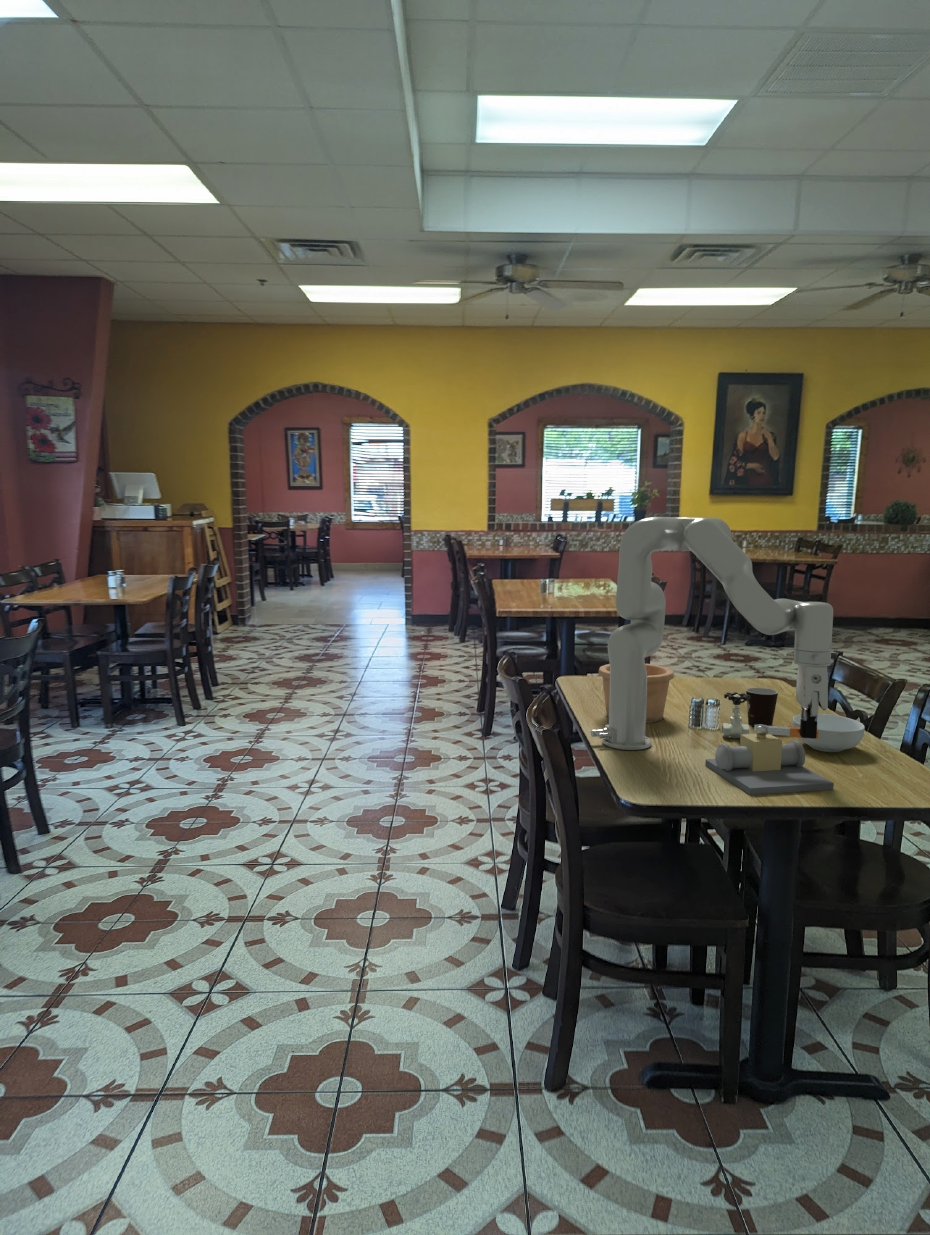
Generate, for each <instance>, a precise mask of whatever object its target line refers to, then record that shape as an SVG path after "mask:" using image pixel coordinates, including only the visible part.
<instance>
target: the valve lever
mask: <svg viewBox="0 0 930 1235" xmlns="http://www.w3.org/2000/svg"><path fill="white" fill-rule="evenodd" d="M753 728H754V729H753V731H754V734H761V735H766V734H771V735H773V736H774V735H776V736H788V737H789V738H797V739H798V738H802V737H801V736H800V727H797V726H792V725H789V726H779V725H778V726H777V725H772V726H767V725H761V724H757V725H755V727H753ZM818 733H819V730H818V729H817V737H816V738H815V739H818ZM811 739H814V738H811Z"/></svg>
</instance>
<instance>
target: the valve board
mask: <svg viewBox="0 0 930 1235" xmlns="http://www.w3.org/2000/svg"><path fill="white" fill-rule="evenodd" d="M739 739H740V741H739V743H740V744H739V745H737V746H730V745H728V744H727V743H721V744H720V743H719V744H718V746H717V747H716V750H715V753H714V754H715V756H714V758H708V759H707V758H706V759H705V762H704V765H705V766H706V767H707V768H709V769H710V770H712V771H713V772H714V773H717V775H719V776H721V777H723V778H724V779H725V780H727V781H728V782H729V783H731V784H733V785H734V786H736V787H737V788H739V789H740V790H742V791H743V792H745V793H746V794H748V795H749V796H753V795H754V796H755V795H768V794H772V795H773V794H781V793H782V794H783V793H785V794H786V793H797V792H799V793H800V792H813V791H830V790H834V787H835V782H833V781H831V780H830V779H828V778H826V777H823V776H822V775H820V774H818V773H817V772H814V771H812V770H810V769H809V768H807V767H805V766H804V764H805V762H806V750H805V748H804V746H803V744H802V743H801V741H800V740H797V739H796V740H792V739H791V740H789V741H788V742H787V743H783V740H782V739H781V738H778V737H776V736H774V735H772V734H766V735H761V734H756V733H749V734H741V737H740V738H739Z"/></svg>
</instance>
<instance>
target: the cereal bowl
mask: <svg viewBox="0 0 930 1235" xmlns="http://www.w3.org/2000/svg"><path fill="white" fill-rule="evenodd" d="M801 719H802V718H801V713H800V714H797V715H794V716H793V717H792V721H791V722H792V724H791V726H797V727H800V722H801ZM865 728H866V727H865V725H864V723H862V722H860V721H858V720H856V719H853V718H850V717H846V716H842V715H837V714H836V715H835V714H829V713H819V712H818V718H817V729H818V730H819V733H818V739H811V738H797V739H798V741H799V742H802V743H805V744H806V745H808V746H809V747H810V748H812V749H813V750H817V751H820V752H826V753H839V752H842V751H844V750H849V749H852V748H855V747H857V746H858V745H859V744H860V743H861V742H862V740H863V738H864V736H865V730H866V729H865Z"/></svg>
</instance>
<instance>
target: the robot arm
mask: <svg viewBox="0 0 930 1235" xmlns="http://www.w3.org/2000/svg"><path fill="white" fill-rule="evenodd" d="M618 551H619V552H618V554H619V555H618V570H617V582H616V595H615V609H616V612H617V614H618V615H619V616H620V618H623V619H625V620H629V621H630V623H629V624H624V625H622V626H619V627H617V628H616V629H615V630H613V631H612V633H610V635H609V638H608V640H607V655H608V661H609V663H608V664H610V701H609V717H608V724H605V726H604V727H602V728H601V729H597V728H596V729H591V730H590V736H591V738H597V737H598V739H602V743H603V745H605V746H606V747H609V748H613V749H618V750H624V751H625V750H626V751H640V750H645V749H647V748H648V749H649V747H651V746H652V740H651V739H650V738H649V737H648V736H647V735H646V726H647V723H646V703H647V671H646V666H645V664H646V663H645V662H646V660H645V659H646V658H648V657H650V656H653V655H654V654H656V653H657V652H658V651H659V650H660V648H661V646H662V644H663V639H664V634H665V632H664V631H665V621H666V619H665V618H666V605H667V603H666V602H667V600H666V596H665V593H664V591H663V589H662V587H661V586H660V585H658V584H657V583H656V582H653V581H652V577H653V562H652V557H651V556H652V553H655V552H663V551H685V552H687V551H688V552H692V553H693V554H694V556H696V558H697V559H698V560H699V561H700V562H701V563H702V564H703V565H704V566H705V567H706V569H708V570H709V571H710V573H711V574H713V575H714V577H715V578H716V579H717V580H718V581H719V582H720V583H721V585H722V586H723V589H724V592H725V593H726V595H727V596H728V599H730V602H731V603H732V604H733V606H734V607H735V609H736V610H737V611H738V612H739V614H740V615H742V616H743V618H744V619H745V620H746V621H747V622H748V623H749V624H750V625H751V626H752V627H753V628H754V629H755V630H757V631H758V632H760V633H762V634H764V635H768V636H774V635H778V634H781V633H784V632H788V631H794V646H793V647H794V648H793V651H794V652H793V664H796V665H797V673H796V674H797V675H796V691H795V694H796V696H795V697H796V701H797V702H798V704H799V705H800V714H801V718H802V719H801V722H800V736H801V737H802V738H814V739H815V738H816V737H817V718H818V713H819V707H820V709H821V710H822V711H827V710H828V707H829V706H828V705H829V703H828V702H829V701H828V699H829V695H828V694H829V679H828V678H829V677H828V675H829V674H828V667H829V666H831V660H832V658H831V657H832V642H833V640H832V639H833V626H834V625H833V623H834V607H833V606H832V604H830V603H828V602H822V601H799V600H794V599H788V598H776V599H774V598H773V597H771V595H770V594H769V593H768V592H767V591H766V590H765V589H764V588H763V587H762V586H761V584H759V582H758V580H757V579H756V577H755V575H754V573H753V563H752V560H751V558H750V556H749V555H747V554H746V552H744V550H743V549H742V548H740V546H739V545H738V544H737V543H736V542H735V541H734V540H733V539H732V531H731V527H730V526H729V524H728V523H727V522H725V521H724V520H723V519H721V518H719V517H677V516H675V517H674V516H672V517H671V516H669V517H668V516H651V517H645V518H642V519H640V520H637V521H635V522H634V523H633V524H630V526H629V527H627V528H626V530H625V531H624V533H622V536H621V539H620V542H619V549H618Z"/></svg>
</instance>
